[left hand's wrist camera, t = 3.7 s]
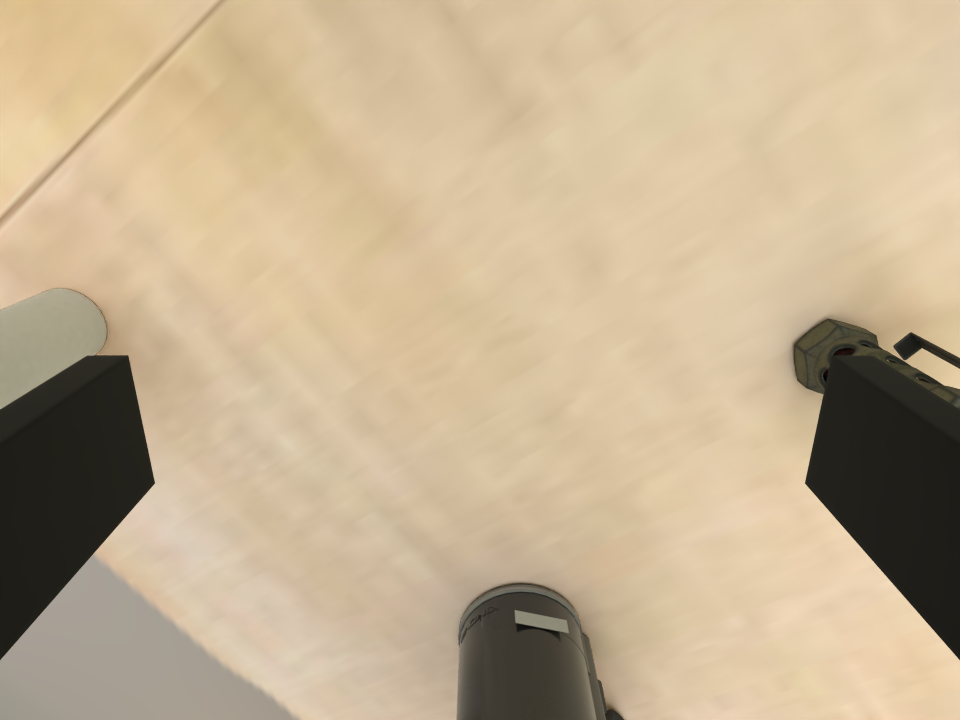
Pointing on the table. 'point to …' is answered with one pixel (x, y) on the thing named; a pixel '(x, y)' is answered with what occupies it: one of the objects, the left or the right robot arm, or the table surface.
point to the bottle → (46, 339)
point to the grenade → (857, 341)
